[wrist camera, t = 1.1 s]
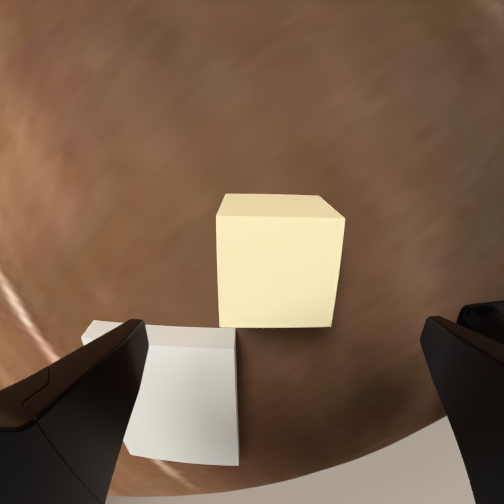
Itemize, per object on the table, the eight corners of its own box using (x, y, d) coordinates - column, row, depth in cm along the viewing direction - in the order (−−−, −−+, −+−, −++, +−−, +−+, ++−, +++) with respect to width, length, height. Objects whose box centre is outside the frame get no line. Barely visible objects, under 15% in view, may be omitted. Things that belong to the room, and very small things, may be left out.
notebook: (235, 325, 20) (234, 348, 17) (239, 444, 24) (238, 465, 22) (95, 317, 20) (81, 337, 17) (136, 435, 24) (130, 454, 22)
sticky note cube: (318, 195, 16) (345, 218, 12) (311, 279, 18) (331, 326, 13) (225, 193, 16) (216, 215, 12) (226, 278, 18) (219, 327, 13)
